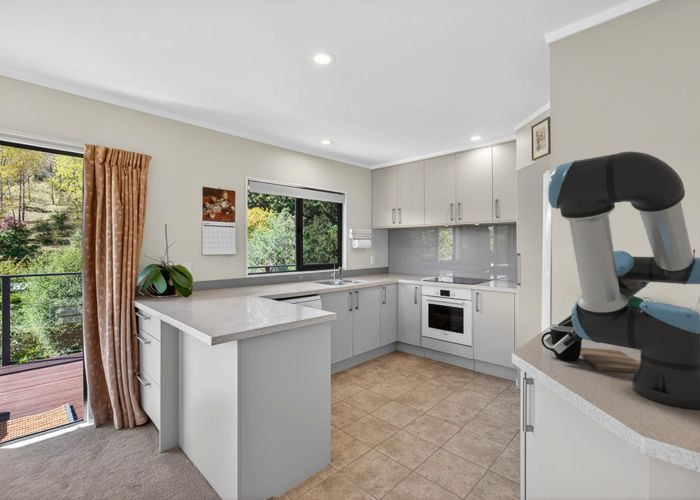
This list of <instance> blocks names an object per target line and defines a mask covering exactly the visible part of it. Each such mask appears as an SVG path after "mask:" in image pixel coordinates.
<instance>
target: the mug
mask: <svg viewBox="0 0 700 500" xmlns="http://www.w3.org/2000/svg"><path fill="white" fill-rule="evenodd" d="M573 330H574V327H567V326H558V325H554V326H551V327H550V331H547V332H544V333H543V334H542V336H541V344H542V346H543V347H544V348H545V349H547V350H548V351H551V352H553V354H554V356H555V357H556V358H557V359H558V360H562V361H569V362H574V361H575V362H576V361H578V360H579V358H580V357H581V356H580V352H581V348H582V342H583V340H581V341H578V340H577V341H574V342H573V343H572V344H571V345H570V346H568V347H567V348H566V349H565V350H563V351H562V352H561V353H560V354H559V353H558V352H557V351H556V350H554V349H553V348H552V347H553V346H554V345H555V344H557V343H558V342H559V341H560V340H561V339H563V338H564V337H565V336H566V335H567V333H571V332H572V331H573ZM549 335H551V337H552V345H551V346H552V347H549V346H547V345H546V343H545V342H544V341H545V340H544V339H545V338H546V337H547V336H549Z"/></svg>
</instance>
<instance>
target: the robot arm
mask: <svg viewBox="0 0 700 500" xmlns="http://www.w3.org/2000/svg"><path fill="white" fill-rule="evenodd" d="M547 188H548V189H547V193H548V195H547V197H548V202H549V204H550V207H551V208H553V209H557V210H558V209H559V210H560V215H561V217H562V218H563V219H565V220H567V221H569V228H570V233H571V239H572V244H573V245H572V246H573V251H574V256H575V262H576V267H577V274H578V279H579V284H580V289H581V295H580V296H578V298H577V300H576V301H575V302H574V303H573V305H572V307H571V314H570V315H569V316H567V317H566V318H564V319H563V320H561V321H560V322H558V323H557V326H567V327H574V330H573V331H572V332H571V333H567V335H566V336H565V337H564V338H563V339H561V340H560V341H559V342H558V343H557V344H555V345H554V346H553V345H552V337H551V335H550V334H548V335H546V336H545V337H544V339H543V341H545V343H547V344H548V345H549V346H552V347H551V348H553V349H554V350H556V351H557V352H558V353H559V354H560V353H561V352H562V351H563V350H565V349H566V348H567V347H568V346H570V345H571V344H572V343H573V342H574V341H577V340H578V341H581V340H582V341H583V340H587V341H590V342H592V343H593V342H594V343H597V344H607V345H611V346H617V347H622V348H627V349H633V350H639V352H640V360H639V365H638V368H637V370H636V372H635V373H634V374H633V377H632V379H631V388H632V390H633V391H634V392H635V393H636V394H638V395H641V396H643V397H645V398H647V399H649V400H651V401H654V402H658V403H661V404H664V405H668V406H673V407H678V408H683V409H692V410H700V314H699V312H697V311H695V310H694V309H690V308H688V307H687V308H686V307H684V306H683V307H682V306H680V305H676V304H672V303H671V304H669V303H665V302H657V301H655V302H653V301H641V302H640V304H639V306H637V305H629V300H630V299H631V298H632V297H634V296H635V295H636V294H637V293H638V292H640V291H642V289H644V288H646V287H647V285H649V284H650V283H660V284H662V283H664V284H678V285H679V284H680V285H700V257H698V256H697V257H696V256H693V252H692V247H691V242H690V238H689V234H688V229H687V224H686V220H685V216H684V215H685V214H684V212H683V205H682V201H683V199H684V198H685V195H686V191H685V187H684V183H683V181H682V178H681V177H680V175H679V174H678V172H676V170H675V169H674V168H673V167H672V166H671V165H669V164H668V163H666V161H663V160H662V159H660V158H658V157H656V156H654V155H651V154H649V153H644V152H641V151H640V152H639V151H621V152H618V153H614V154H609V155H602V156H596V157H591V158H585V159H584V158H583V159H579V160H573V161H570V162H565V163H561V164H559V165H558V166H556V167H555V168H554V170H553V171H552V173H551V175H550V178H549V182H548V187H547ZM623 202H626V203H627V202H629V203H630V205H631V207H632V208H634V209H635V210H636V211H639V214H640V217H641V220H642V223H643V227H644V230H645V233H646V236H647V240H648V242H649V246H650V249H651V252H652V255H653V256H633V255H631V254H630V253H629V252H627V251H623V250H614V244H613V243H614V242H613V237H612V230H611V223H610V216H609V215H610V214H611V213H612V212H613V211H614V210H615V208H616V205H615V204H616V203H623Z"/></svg>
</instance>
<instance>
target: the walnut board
mask: <svg viewBox="0 0 700 500" xmlns="http://www.w3.org/2000/svg"><path fill="white" fill-rule="evenodd" d="M580 357H581V358H583V360H585V361H586V362H588V363H589V364H590V365H591V366H593V367H594V368H595V369H596V370H597V371H606V372H607V371H609V372H620V373H621V372H622V373H632V374H633V373H634V374H635V372H636V370H637V368H638V365H639V363H640V361H638V360H636V359H634V358H633V357H631V356H629V355H628V354H626V353H624V352H623V351H621V350H619V349H609V348H608V349H607V348H592V347H590V348H589V347H581V352H580Z"/></svg>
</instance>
